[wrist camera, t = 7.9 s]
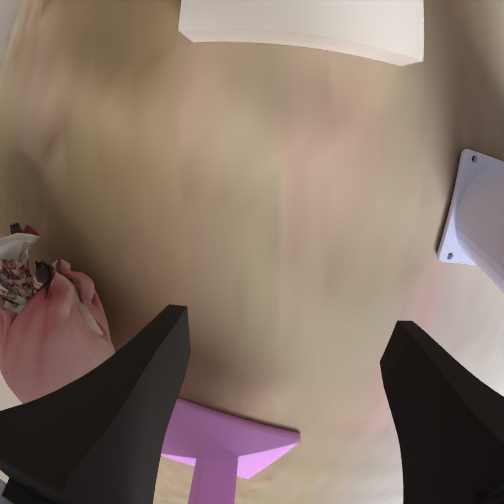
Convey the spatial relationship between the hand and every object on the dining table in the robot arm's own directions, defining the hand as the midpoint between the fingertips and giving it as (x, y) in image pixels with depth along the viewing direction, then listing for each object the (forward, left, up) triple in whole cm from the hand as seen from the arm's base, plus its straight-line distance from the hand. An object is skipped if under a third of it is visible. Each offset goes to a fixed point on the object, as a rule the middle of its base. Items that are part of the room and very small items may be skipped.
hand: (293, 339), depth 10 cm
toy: (+17, +7, -10) cm, 21 cm away
